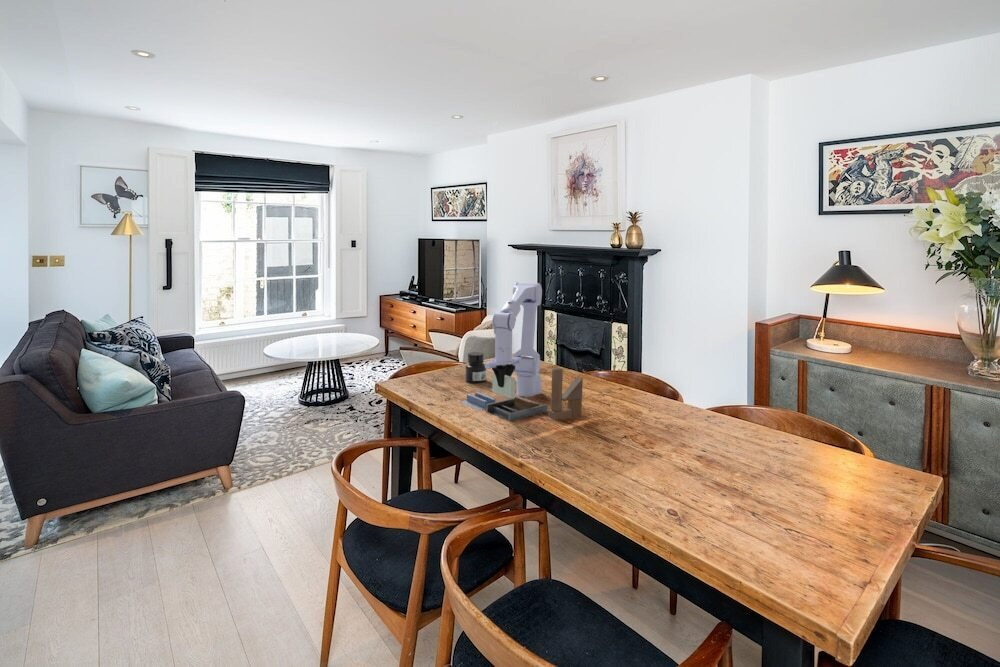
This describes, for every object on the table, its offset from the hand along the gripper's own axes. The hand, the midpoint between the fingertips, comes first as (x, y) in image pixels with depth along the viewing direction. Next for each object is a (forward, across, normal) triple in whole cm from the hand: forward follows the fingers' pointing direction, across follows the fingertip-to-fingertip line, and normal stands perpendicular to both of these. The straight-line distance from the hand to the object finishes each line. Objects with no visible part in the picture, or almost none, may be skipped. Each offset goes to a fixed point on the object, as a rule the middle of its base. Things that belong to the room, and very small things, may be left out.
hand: (503, 386), depth 182 cm
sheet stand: (+10, 0, +13) cm, 16 cm away
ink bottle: (+11, +19, +42) cm, 47 cm away
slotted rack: (+10, +4, -2) cm, 11 cm away
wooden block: (+11, +14, -16) cm, 24 cm away
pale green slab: (+3, 0, 0) cm, 3 cm away
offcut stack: (+9, +9, -2) cm, 13 cm away
